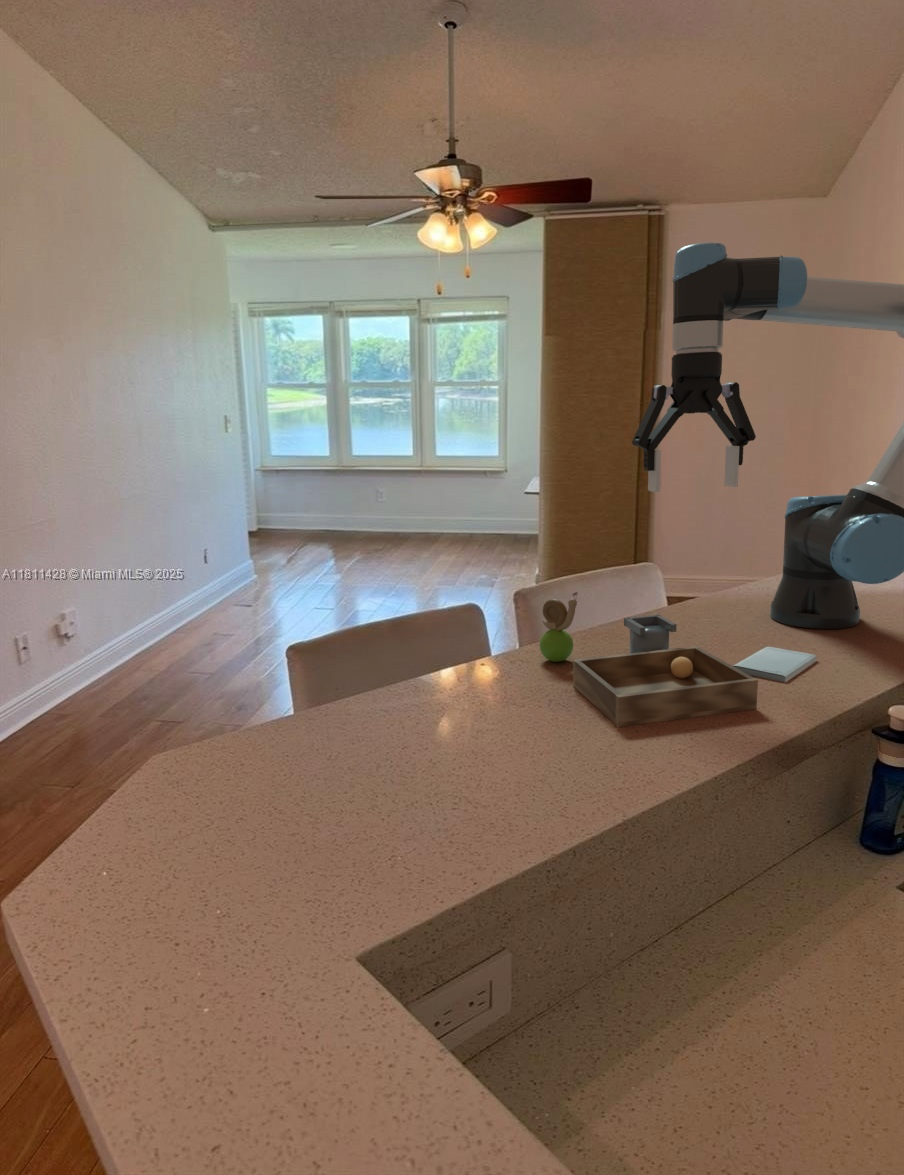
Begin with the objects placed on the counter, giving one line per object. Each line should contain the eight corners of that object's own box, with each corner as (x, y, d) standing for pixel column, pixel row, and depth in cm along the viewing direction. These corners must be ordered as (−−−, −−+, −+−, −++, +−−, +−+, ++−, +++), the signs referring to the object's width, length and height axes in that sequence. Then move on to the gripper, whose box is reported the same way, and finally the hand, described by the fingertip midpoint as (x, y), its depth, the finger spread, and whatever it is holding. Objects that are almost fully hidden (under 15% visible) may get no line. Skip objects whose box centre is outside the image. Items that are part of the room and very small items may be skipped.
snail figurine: (568, 669, 125) (568, 595, 123) (533, 662, 129) (532, 591, 126) (584, 660, 130) (584, 588, 127) (550, 653, 133) (549, 584, 131)
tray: (695, 671, 122) (696, 646, 121) (756, 708, 107) (757, 680, 106) (573, 686, 118) (573, 659, 117) (618, 726, 103) (618, 697, 102)
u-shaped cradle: (657, 656, 130) (658, 614, 128) (675, 668, 124) (676, 624, 122) (623, 660, 129) (623, 617, 127) (639, 672, 123) (640, 627, 121)
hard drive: (785, 675, 116) (817, 654, 125) (731, 664, 121) (765, 644, 130) (785, 686, 116) (816, 664, 125) (731, 675, 122) (765, 654, 130)
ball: (689, 651, 118) (700, 666, 116) (682, 665, 120) (692, 681, 118) (670, 653, 117) (681, 669, 115) (664, 668, 119) (674, 684, 117)
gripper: (754, 351, 129) (748, 482, 134) (612, 355, 124) (611, 491, 129) (783, 348, 122) (775, 486, 127) (632, 352, 117) (631, 496, 122)
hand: (692, 489), depth 128 cm, fingers open, 13 cm apart
